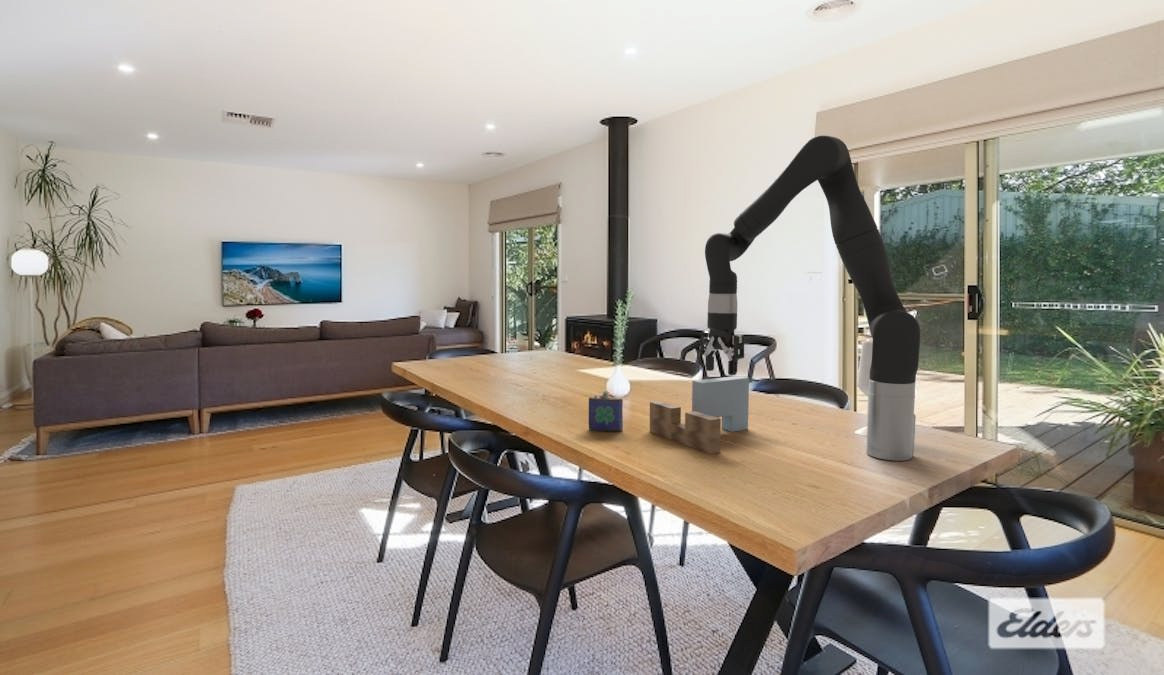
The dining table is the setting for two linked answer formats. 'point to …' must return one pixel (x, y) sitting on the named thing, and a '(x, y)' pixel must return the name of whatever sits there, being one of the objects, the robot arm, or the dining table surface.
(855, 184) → the robot arm
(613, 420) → the flask
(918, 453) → the dining table surface
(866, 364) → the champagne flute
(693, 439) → the walnut slotted plate
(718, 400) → the tall grey upright block
